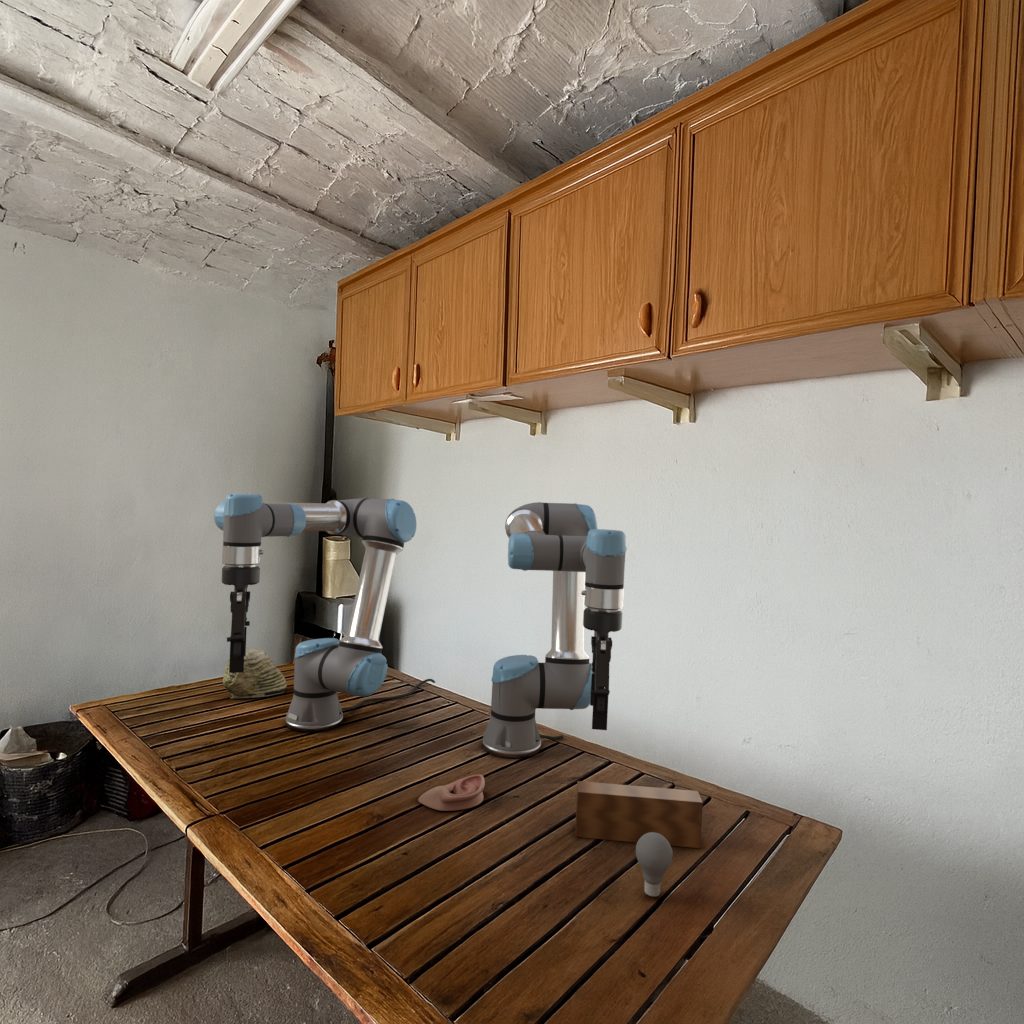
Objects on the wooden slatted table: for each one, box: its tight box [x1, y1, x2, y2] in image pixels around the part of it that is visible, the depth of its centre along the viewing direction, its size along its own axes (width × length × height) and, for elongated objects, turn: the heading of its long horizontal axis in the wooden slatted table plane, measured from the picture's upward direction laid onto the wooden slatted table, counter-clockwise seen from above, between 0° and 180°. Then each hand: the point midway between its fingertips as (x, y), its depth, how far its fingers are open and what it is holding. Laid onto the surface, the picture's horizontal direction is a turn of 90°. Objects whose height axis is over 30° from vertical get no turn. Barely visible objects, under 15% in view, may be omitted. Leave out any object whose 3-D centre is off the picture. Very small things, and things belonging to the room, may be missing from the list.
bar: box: [574, 780, 704, 849], centre depth 123 cm, size 24×5×9 cm, turn 85°
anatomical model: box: [417, 773, 486, 812], centre depth 135 cm, size 13×4×12 cm
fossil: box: [222, 646, 288, 699], centre depth 198 cm, size 9×18×15 cm, turn 132°
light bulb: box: [635, 832, 674, 897], centre depth 105 cm, size 6×6×10 cm
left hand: (237, 663), depth 136 cm, fingers open, 13 cm apart
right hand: (598, 716), depth 124 cm, fingers open, 13 cm apart
